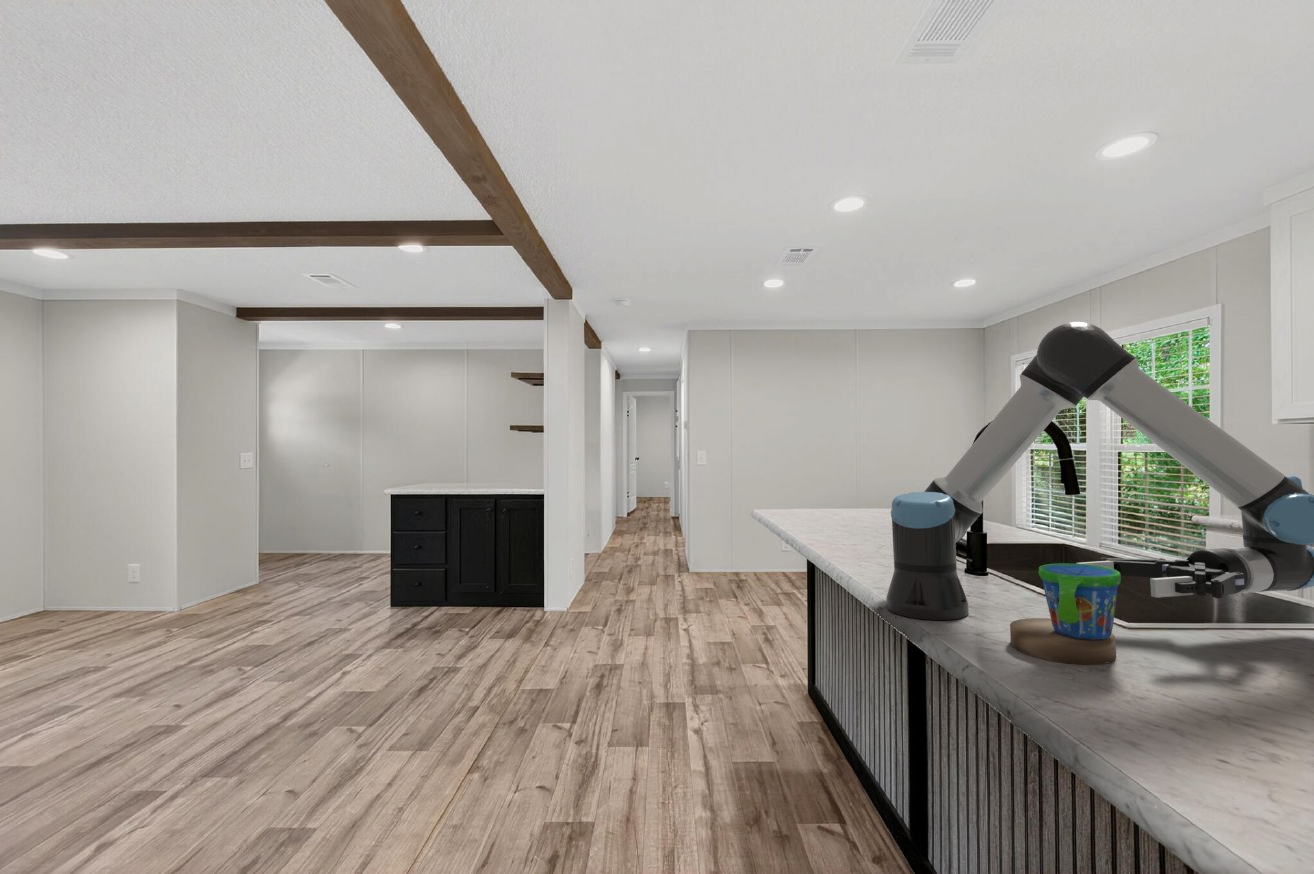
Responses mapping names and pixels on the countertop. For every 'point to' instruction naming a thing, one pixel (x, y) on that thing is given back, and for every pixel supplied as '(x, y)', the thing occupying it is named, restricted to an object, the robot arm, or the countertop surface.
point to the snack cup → (1081, 599)
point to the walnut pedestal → (1059, 643)
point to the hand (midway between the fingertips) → (1113, 578)
